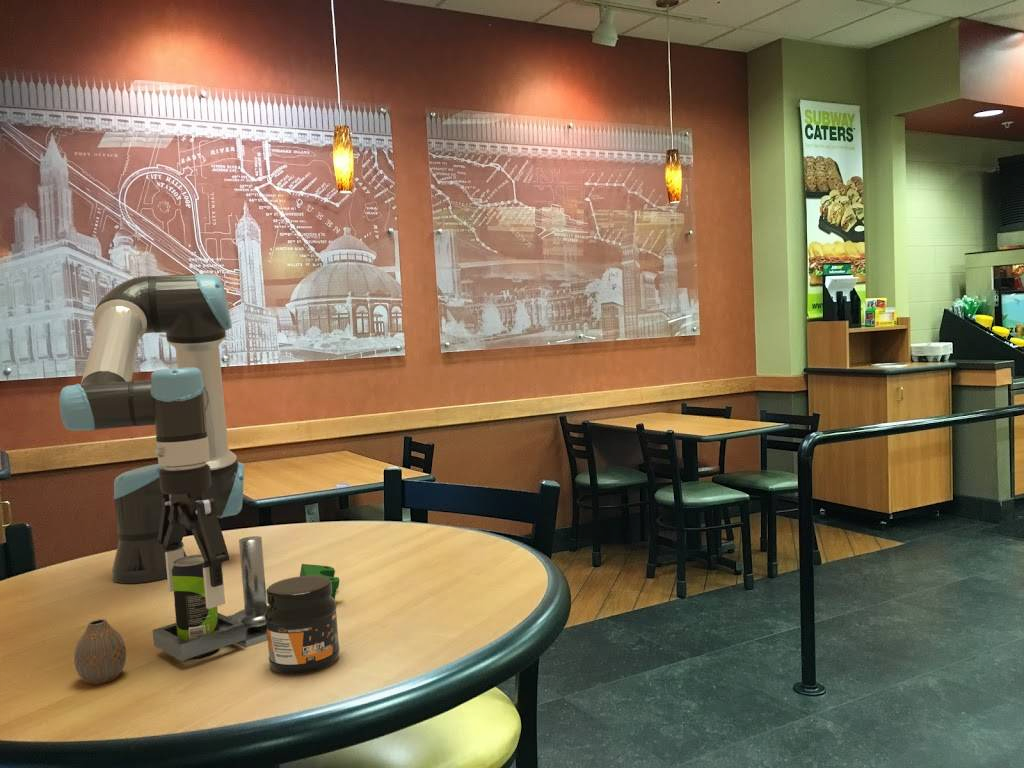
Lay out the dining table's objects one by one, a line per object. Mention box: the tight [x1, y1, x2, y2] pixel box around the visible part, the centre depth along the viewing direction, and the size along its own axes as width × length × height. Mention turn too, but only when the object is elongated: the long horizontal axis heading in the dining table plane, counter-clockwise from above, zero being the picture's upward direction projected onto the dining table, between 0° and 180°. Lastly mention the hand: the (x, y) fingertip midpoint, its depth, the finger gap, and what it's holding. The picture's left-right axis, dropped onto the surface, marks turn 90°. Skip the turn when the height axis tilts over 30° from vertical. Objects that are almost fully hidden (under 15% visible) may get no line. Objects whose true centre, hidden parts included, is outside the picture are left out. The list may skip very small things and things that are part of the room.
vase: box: [73, 618, 127, 685], centre depth 121 cm, size 7×7×9 cm
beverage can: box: [172, 554, 219, 659], centre depth 130 cm, size 6×6×15 cm
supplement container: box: [265, 575, 340, 675], centre depth 123 cm, size 10×10×12 cm
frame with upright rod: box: [151, 535, 268, 662], centre depth 133 cm, size 10×20×16 cm, turn 136°
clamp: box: [299, 563, 341, 600], centre depth 153 cm, size 12×6×9 cm, turn 14°
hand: (196, 597), depth 130 cm, fingers open, 13 cm apart
